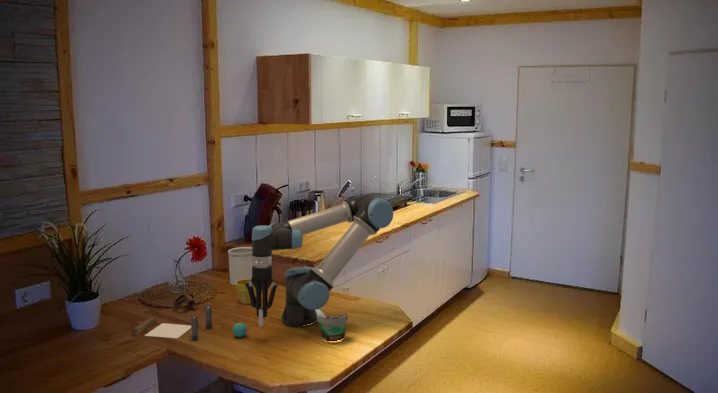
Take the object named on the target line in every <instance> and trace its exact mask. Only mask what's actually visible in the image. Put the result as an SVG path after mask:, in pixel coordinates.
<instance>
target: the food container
mask: <svg viewBox="0 0 718 393" xmlns="http://www.w3.org/2000/svg"><path fill="white" fill-rule="evenodd" d="M348 321H349V317H348V314H347V312H346V311H345V313H344V314H340V315H339V314H338V315H336V314H334V315H330V316H326V317H322V316H321V315H320V316H318V317H317V323H319V329H320V338H322V339H323V340H326V341H337V340H341V339H343V338H344V337H345V336H346V328H347V326H346V325H347V322H348ZM344 339H345V338H344Z"/></svg>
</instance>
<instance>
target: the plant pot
mask: <svg viewBox="0 0 718 393" xmlns="http://www.w3.org/2000/svg"><path fill="white" fill-rule="evenodd" d="M249 281H251V279H243V280H238V281H237V282H236V286H235V290H236V291H237V293H238V294H237V296H238V298H239V302H240V304H244V305H251V301H250V296H249V292H248V289H247V287H246V285H245V284H246V283H247V282H249ZM253 290H254V294H255V298H256V288H255V286H254V285H253Z"/></svg>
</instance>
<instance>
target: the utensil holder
mask: <svg viewBox="0 0 718 393" xmlns="http://www.w3.org/2000/svg"><path fill="white" fill-rule="evenodd" d="M227 255H228V269H229V270H228V272H229V283H230V285H231V284H232V286H234V285H235V287H236V282H237V281H238V280H243V279H251V278H252V267H253V265H252V246H240V247H233V248H230V249H228V250H227Z"/></svg>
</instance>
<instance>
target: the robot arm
mask: <svg viewBox="0 0 718 393" xmlns="http://www.w3.org/2000/svg"><path fill="white" fill-rule="evenodd" d="M393 218H394V209H393V206H392V204H391V203H390V202H389V201H388V200H386V199H385V198H382V197H377V196H375V195H370V194H363V195H358V196H355V197H352V198H350V199H347V200H344V201H342V202H341V204H339V205H335V206H332V207H329V208H326V209H322V210H319V211H316V212H312V213H309V214H307V215H304V216H299V217H297V218H294V219H290V220H286V221H284V222H280V223H279V222H273V223H270V224H269V225H263V224H261V225H256V226H254V227H252V232H251V242H252V243H251V247H252V265H253V267H252V278H251V281H249V282H247V283H246V284H245V285H246V287H247V289H248V292H249V296H250V301H251V304H250V305H251V308H255V309H256V317H257V318H258V326H259V327H263V326H264V325H265V324H266V320H265V319H266V317H267V316H268V309H270V308H272V306H273V302H274V299H275V298H274V297H275V295H276V290H277V288H279V284H278V283H275V282H274V279H273V274H272V273H273V272H272V271H273V268H272V264H273V259H272V258H273V251H279V250H282V251H283V250H295V249H300V248H301V247H302V246H303V240H304V238H303V236H305V235H308V234H312V233H314V232H317V231H321V230H323V229H327V228H329V227H332V226H337V225H339V224H343V223H346V222H347V223H349V224H351V223H352V224H351V225H350V226H349V228H348V229H347V230H346V231H345V232H344V234H343V235H342V236H341V238H340V239H339V240H338V241H337V242H336V244H334V246H333V247H332V249H330V251H329V252H328V253H327V255H326V256H325V257H324V258H323V259H322V261H321V262H320V263H318V266H317V267H309V266H306V267H305V266H304V267H301V266H299V267H297V266H296V267H292V268H288V269H286V270H285V276H284V279H285V305H284V308H283V311H282V313H281V323H282V324H283V323H284V324H283V325H285V324H286V325H285V326H287V325H291V326H290V327H293V326H303V325H307V324H311V323H313V322H315V321H316V320H317V321H318V314H317V310H319V309H321V308H323V307H324V306H326V304H327V303H328V301H329V299H330V292H331V290H332V289H333V288H334V281H335V279H336V278H337V277H338V276H339V274H340V273H341V272H342V271H343V269H344V268H346V266H347V265H348V263H349V262H350V260H352V258H353V257H354V256H355V255H356V253H357V252H358V251H359V249H360V248H361V247H362V246H363V244H364V243H365V242H366V241H367V240H368V239H369V237H370V236H375V235H376V234H377V233H378V232H379V231H380V229H384V228H387V227H388V226H389V225H390V224H391V223H392V221H393ZM253 285H254V286H255V288H256V297H255V294H254V290H253ZM269 288H271V290H270V293H269V294H268V292H269ZM268 295H269V296H268Z"/></svg>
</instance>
